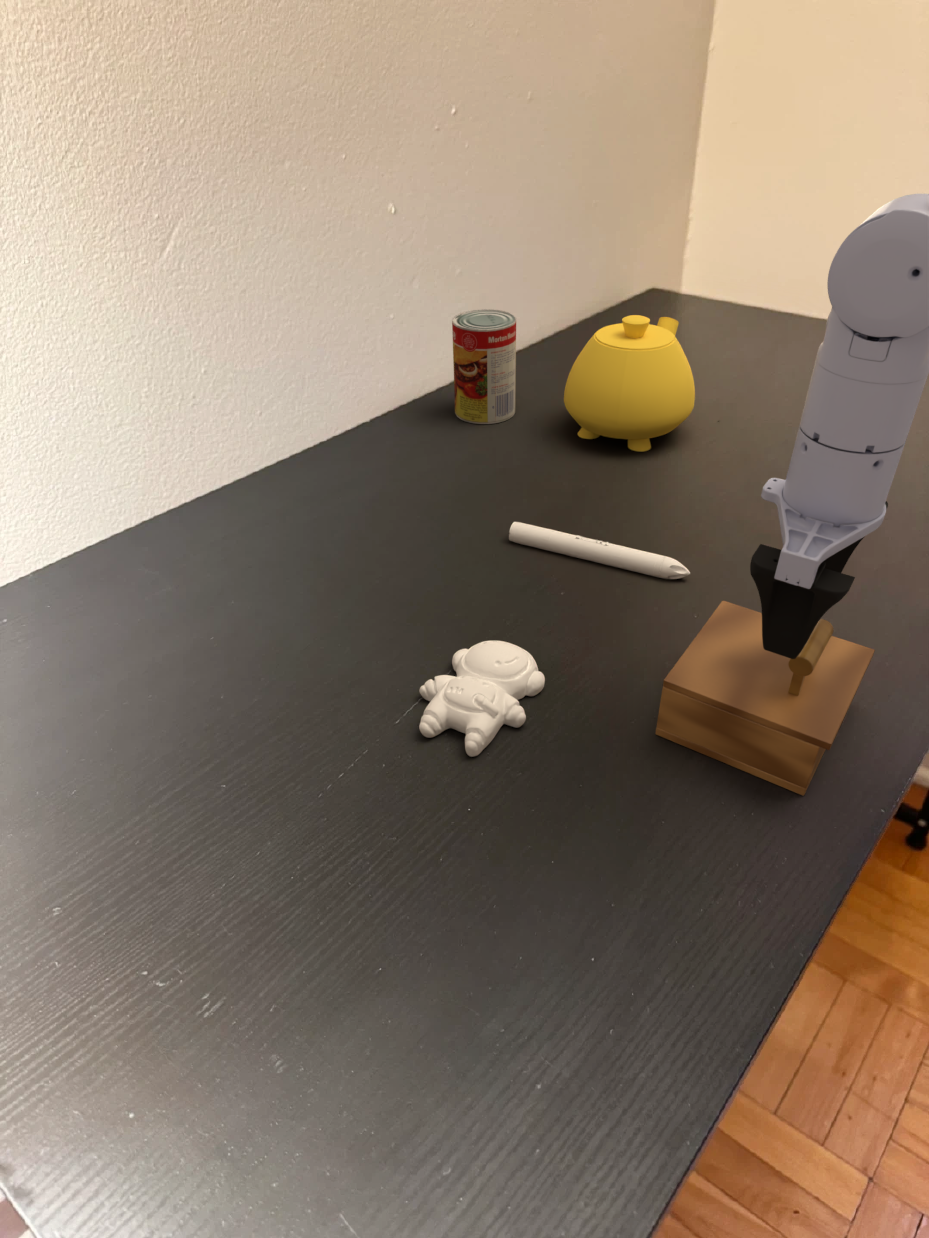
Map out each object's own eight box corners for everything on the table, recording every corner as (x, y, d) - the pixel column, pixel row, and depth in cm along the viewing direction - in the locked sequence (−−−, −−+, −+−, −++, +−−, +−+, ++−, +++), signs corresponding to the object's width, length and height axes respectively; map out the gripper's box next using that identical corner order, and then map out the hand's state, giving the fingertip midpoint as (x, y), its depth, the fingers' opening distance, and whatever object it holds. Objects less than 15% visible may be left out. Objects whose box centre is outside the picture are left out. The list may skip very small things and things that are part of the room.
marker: (692, 577, 79) (695, 556, 78) (686, 588, 78) (689, 567, 76) (516, 535, 86) (517, 515, 84) (508, 545, 84) (508, 525, 83)
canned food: (480, 395, 115) (478, 305, 107) (527, 409, 110) (529, 316, 103) (442, 414, 110) (438, 321, 102) (490, 429, 106) (490, 334, 98)
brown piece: (873, 655, 62) (888, 612, 59) (829, 750, 54) (844, 705, 52) (721, 606, 67) (729, 564, 65) (662, 686, 60) (669, 642, 57)
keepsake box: (848, 700, 65) (864, 653, 62) (803, 796, 57) (819, 747, 55) (712, 652, 70) (721, 606, 67) (654, 734, 62) (662, 686, 60)
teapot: (611, 385, 116) (619, 282, 108) (720, 408, 109) (739, 299, 101) (539, 439, 103) (543, 326, 95) (659, 469, 96) (674, 350, 88)
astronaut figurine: (391, 724, 64) (387, 695, 62) (476, 641, 72) (475, 612, 70) (488, 770, 60) (488, 740, 58) (567, 676, 68) (569, 647, 66)
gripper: (813, 376, 55) (768, 552, 63) (742, 465, 45) (701, 659, 53) (931, 399, 52) (868, 581, 60) (882, 499, 42) (815, 699, 50)
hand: (796, 620), depth 56 cm, fingers open, 7 cm apart
